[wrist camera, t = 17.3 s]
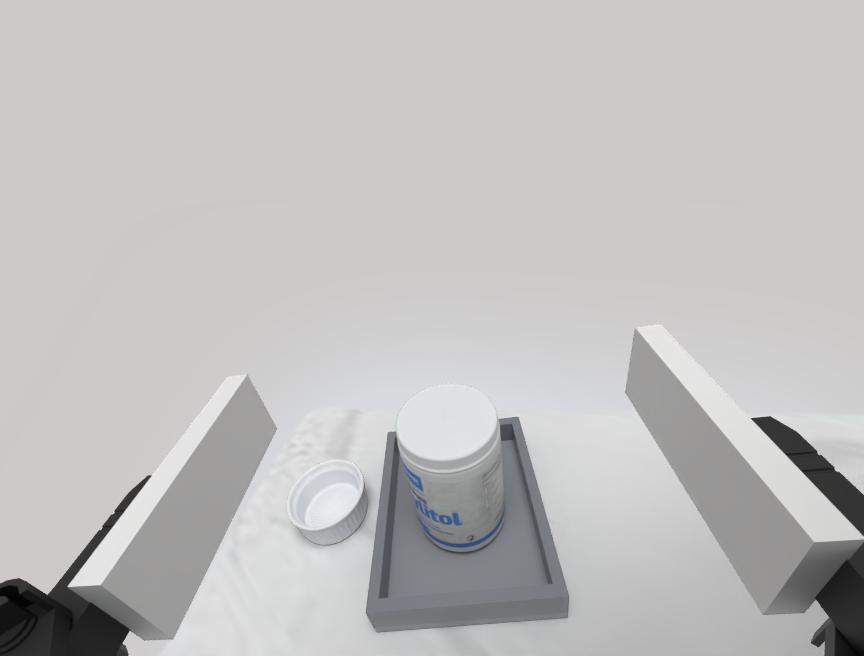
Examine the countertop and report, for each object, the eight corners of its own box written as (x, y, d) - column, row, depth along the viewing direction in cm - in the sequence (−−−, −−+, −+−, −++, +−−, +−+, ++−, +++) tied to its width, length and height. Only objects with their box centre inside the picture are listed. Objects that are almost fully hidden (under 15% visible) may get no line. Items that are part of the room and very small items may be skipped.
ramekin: (369, 472, 49) (361, 450, 46) (375, 537, 41) (365, 514, 39) (302, 492, 48) (290, 470, 45) (295, 562, 40) (280, 540, 38)
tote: (519, 438, 49) (518, 416, 47) (567, 617, 32) (568, 596, 30) (394, 452, 50) (387, 432, 48) (376, 632, 33) (365, 613, 31)
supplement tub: (405, 539, 39) (371, 446, 31) (438, 465, 46) (417, 375, 39) (495, 570, 35) (481, 473, 28) (516, 485, 42) (509, 389, 35)
